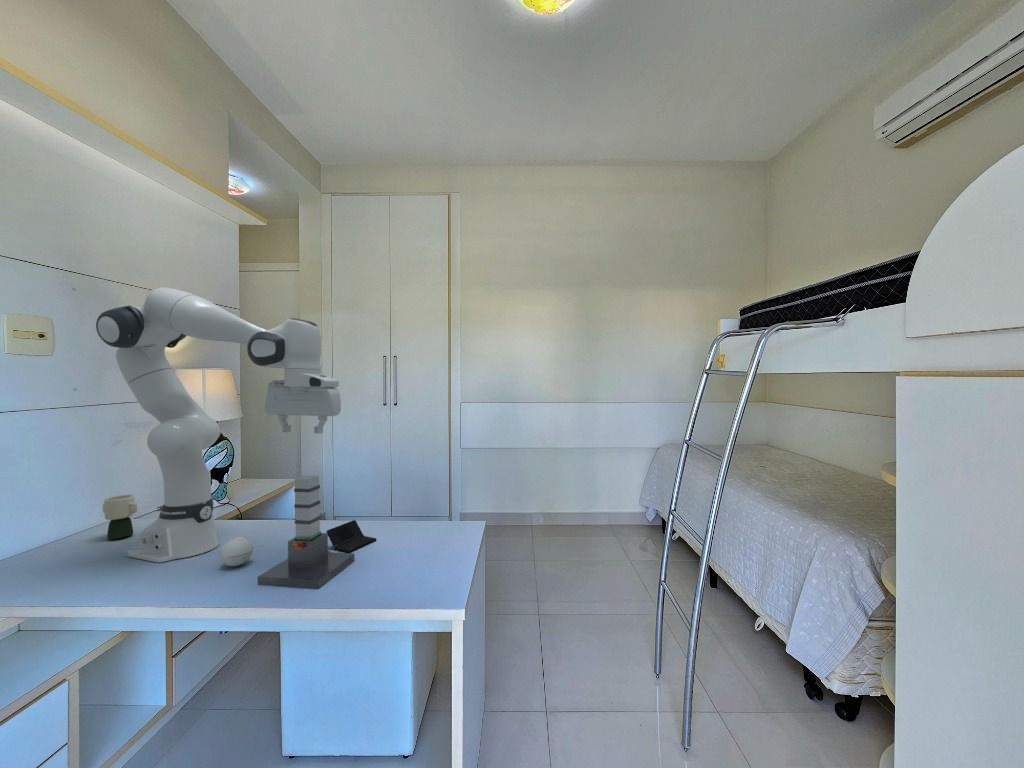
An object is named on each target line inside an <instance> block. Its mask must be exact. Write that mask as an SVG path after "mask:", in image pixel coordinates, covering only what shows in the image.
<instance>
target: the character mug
mask: <svg viewBox="0 0 1024 768" xmlns="http://www.w3.org/2000/svg"><path fill="white" fill-rule="evenodd" d="M137 512H138V504H137V502H135V495H134V494H121V495H113V496H109V497H106V498H104V503H102V513H104V518H105V520H107V521H108V520H109V523H108V528H107V536H106V538H107V540H117V539H122V538H127V537H128V536H132V535H134V527H133V524H132V519H131V516H133V515H134V514H135V513H137Z"/></svg>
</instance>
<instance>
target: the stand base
mask: <svg viewBox="0 0 1024 768" xmlns="http://www.w3.org/2000/svg"><path fill="white" fill-rule="evenodd" d="M328 540H329V537H328V533H327V532H321V535H320V536H319V537H317V538H315V539H314V540H312V541H300V540H295V537H293V538H291V539H290V540H288V541H287V558H286V559H284V560H283V561H281V562H279V563H278V564H276V565H274V566H273V567H271V568H269V569H267V570H266V571H264V572H262V573H261V574H260V575H258V576H257V585H258V586H269V587H283V588H285V587H286V588H299V589H311V590H312V589H313V590H319V589H321V588H322V587H323V586H324V585H325V584H327V583H328V582H329V581H330V580H332V579H334V578H335V577H336V576H337V575H338V574H340V573H341V572H342V571H344V570H345V569H346V568H348V566H350V565H351V564H353V563H354V562H355V553H354V552H352V553H344V552H334V551H333V552H330V551H329V544H328V543H329V541H328Z"/></svg>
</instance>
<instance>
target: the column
mask: <svg viewBox="0 0 1024 768" xmlns="http://www.w3.org/2000/svg"><path fill="white" fill-rule="evenodd" d="M320 489H321V485H320V476H319V475H303V476H299V477H297V478H294V488H293V492H294V495H295V496H294V499H295V500H294V509H295V516H294V517H295V520H294V524H295V536H294V538H295V540H300V541H312V540H314V539H315V538H317V537H319V536H320V535H321V533H322V531H321V523H320V522H321V513H320V511H321V510H320V504H321V499H320Z"/></svg>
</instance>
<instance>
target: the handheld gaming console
mask: <svg viewBox="0 0 1024 768" xmlns="http://www.w3.org/2000/svg"><path fill="white" fill-rule="evenodd" d="M325 533H328V540H329V541H330V543H331V545H332V546H333V552H334V551H336V552H338V553H354V552H356V551H358V550H359V549H363V548H364V547H366V546H368V545H371V544H372V543H375V542H377V538H376V537H371V536H366V535H365V534H364V533H363V532H362V530H361V528H360V526H359V524H358V522H357V521H356V519H353V520H350V521H348V522H346V523H343V524H340V525H337V526H335V527H333V528H330V529H328V530H326V532H325Z"/></svg>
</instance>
